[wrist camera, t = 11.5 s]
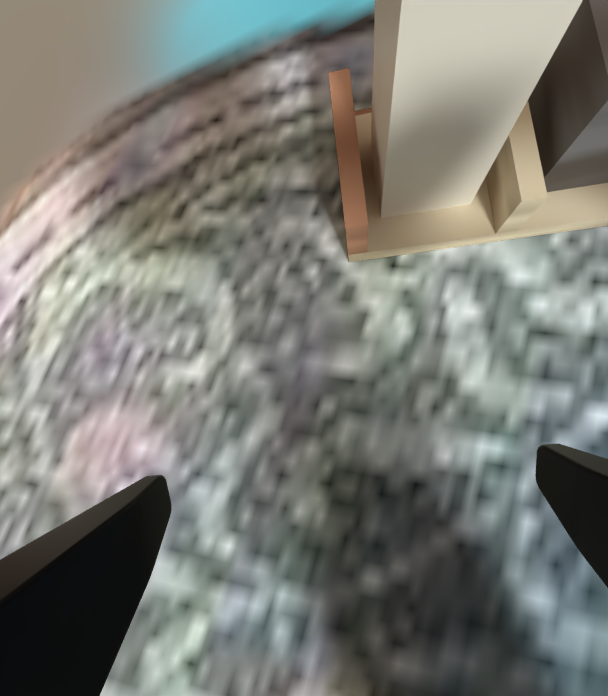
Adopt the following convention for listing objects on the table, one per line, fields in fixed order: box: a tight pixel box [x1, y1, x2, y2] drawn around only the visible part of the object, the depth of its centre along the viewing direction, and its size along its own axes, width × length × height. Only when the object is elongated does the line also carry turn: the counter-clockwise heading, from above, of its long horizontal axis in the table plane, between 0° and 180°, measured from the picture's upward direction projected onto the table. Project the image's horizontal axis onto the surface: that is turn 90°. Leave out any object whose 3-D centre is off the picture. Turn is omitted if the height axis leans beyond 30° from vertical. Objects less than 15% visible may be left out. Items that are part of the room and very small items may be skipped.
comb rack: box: [328, 0, 608, 262], centre depth 16 cm, size 8×16×7 cm, turn 95°
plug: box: [371, 0, 583, 218], centre depth 13 cm, size 4×4×13 cm
